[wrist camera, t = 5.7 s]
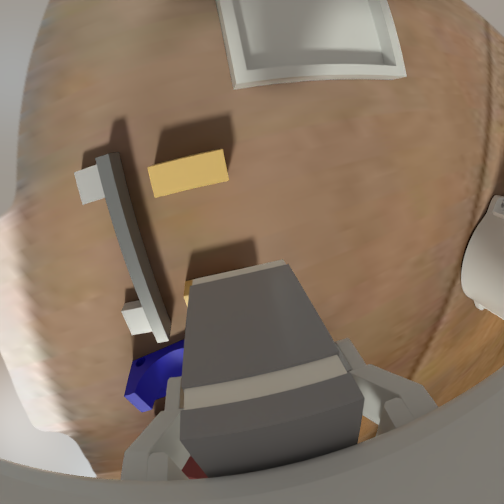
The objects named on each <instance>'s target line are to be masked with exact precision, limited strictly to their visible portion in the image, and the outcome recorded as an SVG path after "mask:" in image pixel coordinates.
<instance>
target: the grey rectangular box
mask: <svg viewBox="0 0 504 504" xmlns="http://www.w3.org/2000/svg"><path fill="white" fill-rule="evenodd" d="M181 387H182V389H183V391H184V410H181V412H180V441H181V443H182V444H183V445H184V447H185V448H186V450H187V451H188V452H189V454H190V455H191V456H192V458H193V459H194V460H195V461H196V463H197V464H198V465H199V467H200V468H201V469H202V470H203V472H204V473H205V474H206V475H207V476H208V478H213V477H222V476H230V475H237V474H243V473H250V472H255V471H261V470H266V469H271V468H276V467H280V466H285V465H289V464H293V463H297V462H301V461H305V460H309V459H312V458H316V457H319V456H323V455H326V454H329V453H332V452H335V451H339V450H342V449H345V448H347V447H350V446H353V445H356V444H357V442H358V437H359V431H360V426H361V419H362V413H363V406H364V399H365V398H364V396H363V394H362V392H361V390H360V389H359V387H358V385H357V383H356V381H355V380H354V378H353V376H352V374H351V373H350V372H349V373H347V371H346V370H345V368H344V366H343V364H342V362H341V361H340V359H339V350H338V348H337V346H336V344H335V343H334V341H333V339H332V337H331V336H330V334H329V332H328V331H327V329H326V327H325V325H324V324H323V322H322V320H321V318H320V317H319V315H318V313H317V312H316V310H315V308H314V306H313V305H312V303H311V301H310V300H309V298H308V296H307V295H306V293H305V291H304V289H303V288H302V286H301V284H300V283H299V281H298V279H297V278H296V276H295V274H294V273H293V271H292V269H291V268H290V266H289V264H286V263H285V262H284V260H278V261H274V262H269V263H265V264H260V265H256V266H252V267H247V268H243V269H238V270H234V271H229V272H225V273H220V274H215V275H211V276H206V277H202V278H197V279H193V282H192V286H190V289H189V299H188V308H187V318H186V329H185V340H184V352H183V365H182V380H181Z"/></svg>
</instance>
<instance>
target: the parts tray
mask: <svg viewBox="0 0 504 504" xmlns="http://www.w3.org/2000/svg"><path fill="white" fill-rule="evenodd" d="M215 1H216V6H217V10H218V15H219V20H220V25H221V30H222V35H223V40H224V45H225V50H226V55H227V60H228V65H229V70H230V75H231V80H232V85H233V90H235V89H241V88H248V87H255V86H262V85H270V84H279V83H289V82H301V81H315V80H338V79H379V80H393V79H398V78H402V77H407V76H406V71H405V66H404V61H403V57H402V52H401V48H400V44H399V40H398V36H397V32H396V29H395V25H394V22H393V18H392V15H391V12H390V8H389V5H388V2H387V0H215Z"/></svg>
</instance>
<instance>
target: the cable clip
mask: <svg viewBox="0 0 504 504" xmlns="http://www.w3.org/2000/svg"><path fill="white" fill-rule="evenodd" d="M184 340H185V339H183V340H181V341H179V342H177V343H174V344H172V345H170V346H167V347H165V348H163V349H160V350H158V351H156V352H153V353H151V354H148V355H146V356H144V357H141V358H139V359H136V360H134V361H133V362H132V366H131V370H130V374H129V378H128V382H127V386H126V390H125V395H124V397H125V398H126V399H128V400H129V401H130V402H131V403H132V404H133V405H134V406H135V407H136V408H137V409H139V410H140V411H141V412H145V411H148V410H151V409H152V408H153V404H154V401H155V400H156V399H159V398H162V397H165V396H166V391H167V382H168V379H169V378H172V377H180V376H182V365H183V352H184Z"/></svg>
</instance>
